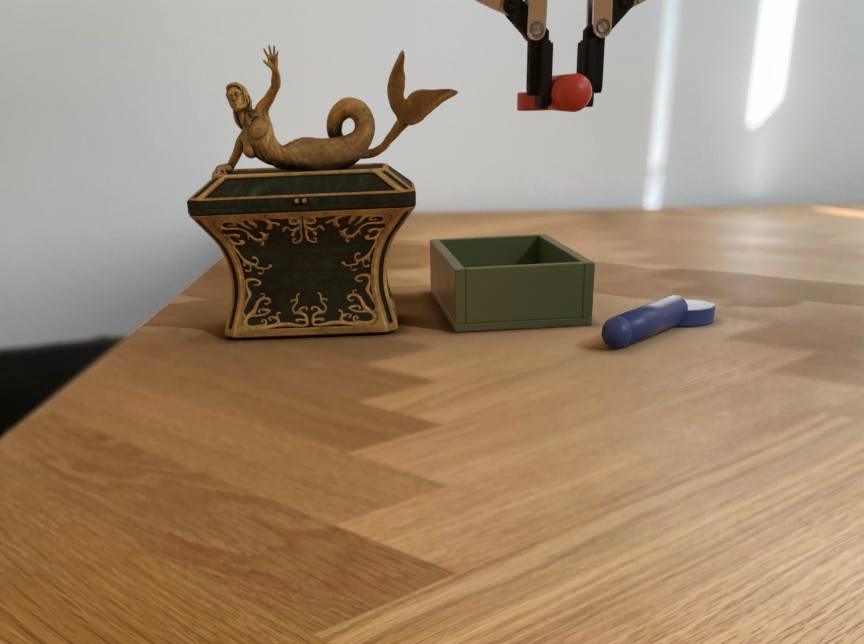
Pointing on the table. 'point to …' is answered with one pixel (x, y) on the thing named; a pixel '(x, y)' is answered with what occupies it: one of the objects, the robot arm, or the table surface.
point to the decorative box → (311, 217)
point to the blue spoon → (655, 320)
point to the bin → (511, 282)
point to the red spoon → (561, 94)
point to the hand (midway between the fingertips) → (563, 105)
